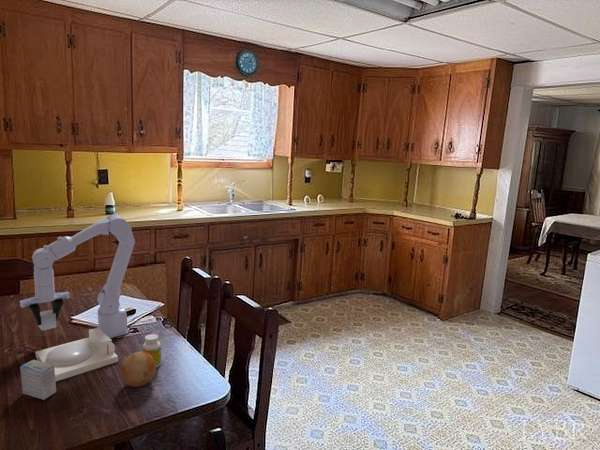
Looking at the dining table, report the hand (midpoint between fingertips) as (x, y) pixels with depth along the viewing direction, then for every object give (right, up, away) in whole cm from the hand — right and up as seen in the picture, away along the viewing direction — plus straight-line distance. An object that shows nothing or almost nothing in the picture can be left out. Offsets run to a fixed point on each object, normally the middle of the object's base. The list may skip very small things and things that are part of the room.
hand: (47, 322), depth 148 cm
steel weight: (0, -2, 0) cm, 2 cm away
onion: (+38, -14, -19) cm, 45 cm away
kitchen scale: (+14, -11, -7) cm, 19 cm away
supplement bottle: (+38, -12, -7) cm, 41 cm away
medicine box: (+13, -15, -25) cm, 32 cm away
